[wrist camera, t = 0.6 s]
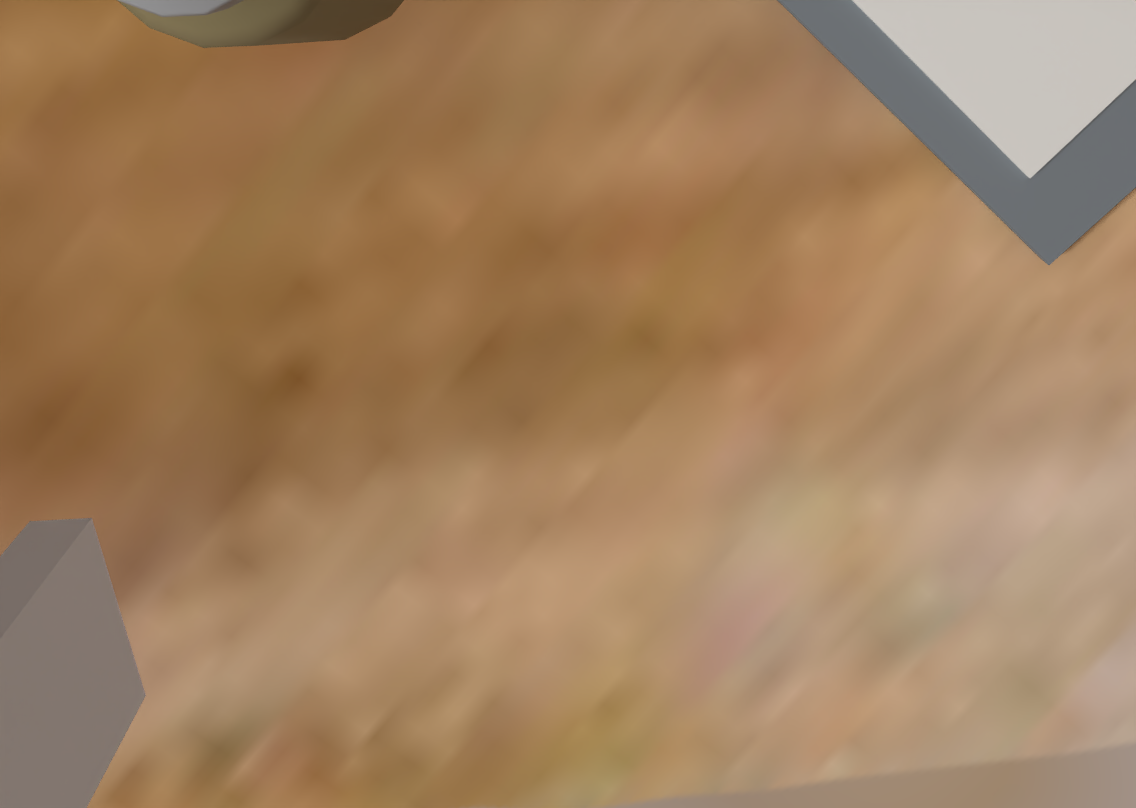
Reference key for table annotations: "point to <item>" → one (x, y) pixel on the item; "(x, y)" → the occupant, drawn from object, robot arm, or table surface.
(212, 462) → the table surface
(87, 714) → the robot arm
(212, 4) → the squeeze bottle
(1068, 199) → the writing board
